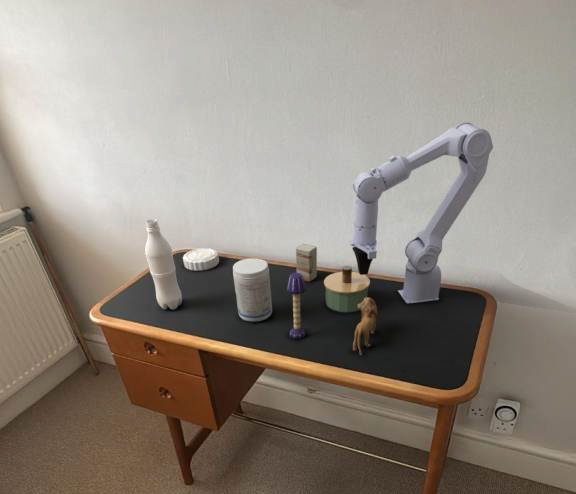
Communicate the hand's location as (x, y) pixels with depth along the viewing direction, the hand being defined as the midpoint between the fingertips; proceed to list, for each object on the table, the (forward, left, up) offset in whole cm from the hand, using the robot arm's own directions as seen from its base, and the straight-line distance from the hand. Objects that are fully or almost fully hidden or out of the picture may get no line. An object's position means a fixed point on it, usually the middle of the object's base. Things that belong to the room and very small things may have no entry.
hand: (363, 273), depth 127 cm
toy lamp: (+20, +13, -9) cm, 26 cm away
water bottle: (+54, -11, -9) cm, 56 cm away
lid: (+5, 0, -2) cm, 5 cm away
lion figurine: (+5, +19, -9) cm, 21 cm away
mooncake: (+45, -39, -9) cm, 61 cm away
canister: (+4, 0, -9) cm, 10 cm away
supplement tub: (+30, 0, -9) cm, 32 cm away
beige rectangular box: (+12, -19, -9) cm, 24 cm away
